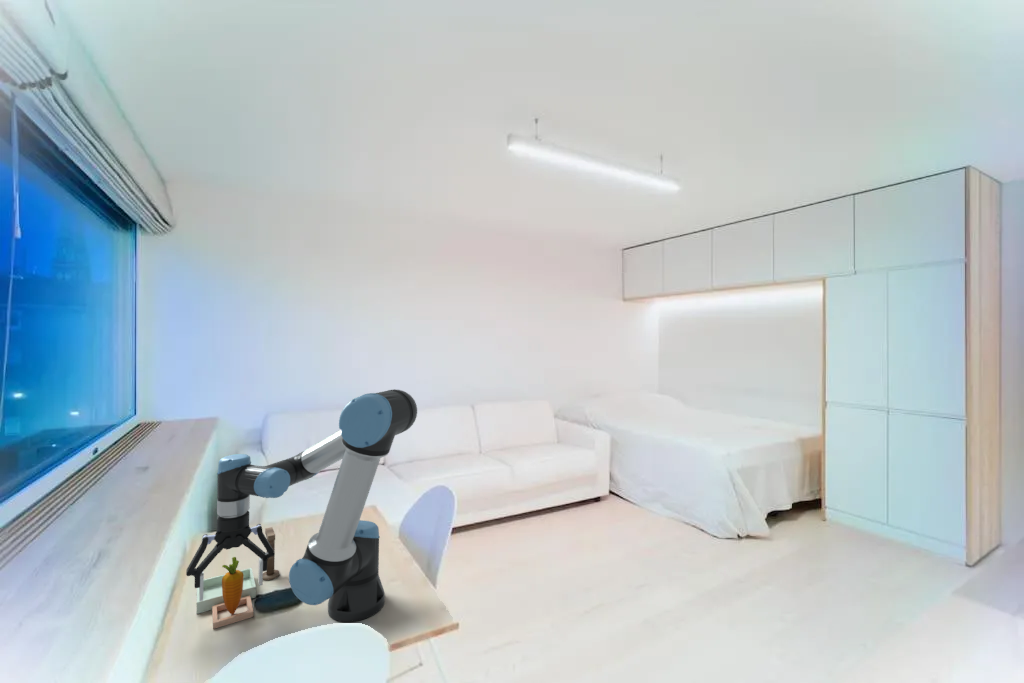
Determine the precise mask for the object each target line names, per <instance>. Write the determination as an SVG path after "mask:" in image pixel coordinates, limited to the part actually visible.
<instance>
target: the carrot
mask: <svg viewBox="0 0 1024 683" xmlns="http://www.w3.org/2000/svg"><path fill="white" fill-rule="evenodd" d="M231 562H232V563H230V564H229V565H227V564H223V565H222V567H221V568H224V569H226V571H228V572H225V575H224V574H223V575H224V577H223V578H222V594H223V599H224V603H225V606H226V608H227V609H226V611H228V612H229V613H228V614H230V615H235V613H236V610H237V609H238V607H239V606H240V605H239V602H240V599H241V595H242V590H243V572H241V571H240V570H239V569H237V568H238V565H239V562H240V561H239V560H237V557H236V556H233V557H232V558H231ZM238 605H239V606H238Z"/></svg>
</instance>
